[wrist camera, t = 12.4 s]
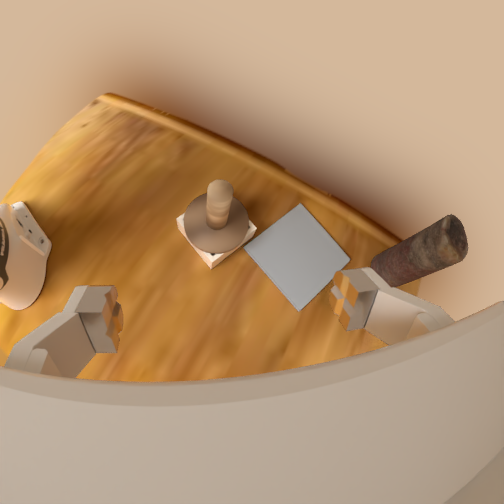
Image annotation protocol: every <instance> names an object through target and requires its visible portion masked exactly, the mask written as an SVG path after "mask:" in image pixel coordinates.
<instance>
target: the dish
mask: <svg viewBox="0 0 504 504" xmlns="http://www.w3.org/2000/svg"><path fill="white" fill-rule="evenodd" d="M184 215H185V213H184V214H182V215H181V216H179V217H178V218H176V220H177V225H178V229H179V230H180V231H181V233H182V234H183V235H184V236H185V238H186V239H187V240H188V241H189V239H188V238H187V236H186V233H185V229H184ZM256 229H257V228H256V227H255V226H254V224H253V223H252V222H251V221H250V220H249V228H248V231H247V234H246V236H245V238H244V240H243V241H242V243H241V244H240V245H239V246H238V247H236V248H235V249H233V250H231V251H229V252H226V253H222V254H211V253H206V252H204V251H201V250H199V249H198V248H196V247H195V246H194V245H193V244H192V243H191V242H190V241H189V243H190V244H191V245H192V246H193V248H194V249H195V250H196V251H197V253H198V254H199V255H200V256H201V258H202V259H203V260H204V261H205V262H206V264H207V265H208V266H209V267H210V269H212V268H214V267H215V266H216V265H217V264H219V263H220V262H221V261H223V260H224V259H225V258H226V257H228V256H229V255H230V254H232V253H233V252H234V251H235V250H237V249H238V248H239V247H241V246H242V245H243V244H244V243H246V242H247V241H248V240H250V239H251V238H252V237H253V235H254V233H255V231H256Z"/></svg>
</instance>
